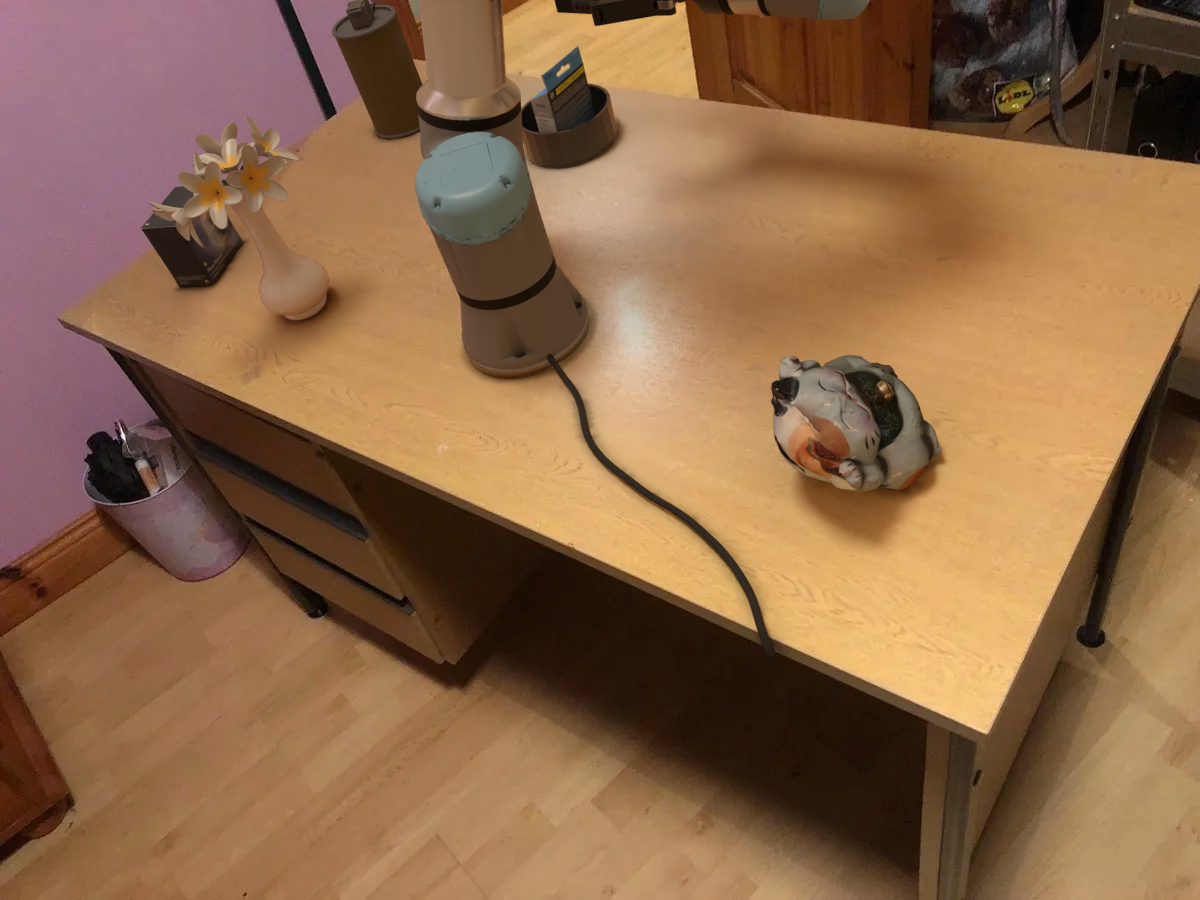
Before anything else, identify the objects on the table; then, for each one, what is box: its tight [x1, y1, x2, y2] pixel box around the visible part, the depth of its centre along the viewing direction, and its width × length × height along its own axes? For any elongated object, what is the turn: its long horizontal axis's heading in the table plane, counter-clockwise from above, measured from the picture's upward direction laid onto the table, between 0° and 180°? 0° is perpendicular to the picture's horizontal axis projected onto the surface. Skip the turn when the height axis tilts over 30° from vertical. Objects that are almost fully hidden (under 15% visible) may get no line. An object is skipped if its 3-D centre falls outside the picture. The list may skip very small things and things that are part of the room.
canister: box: [331, 0, 424, 140], centre depth 151 cm, size 11×10×20 cm
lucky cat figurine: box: [770, 354, 943, 493], centre depth 84 cm, size 15×12×14 cm
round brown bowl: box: [521, 82, 619, 169], centre depth 139 cm, size 14×14×6 cm
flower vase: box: [146, 115, 330, 321], centre depth 118 cm, size 13×18×25 cm
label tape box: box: [530, 45, 595, 133], centre depth 136 cm, size 9×4×12 cm, turn 144°
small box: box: [140, 185, 244, 288], centre depth 137 cm, size 11×6×10 cm, turn 168°
